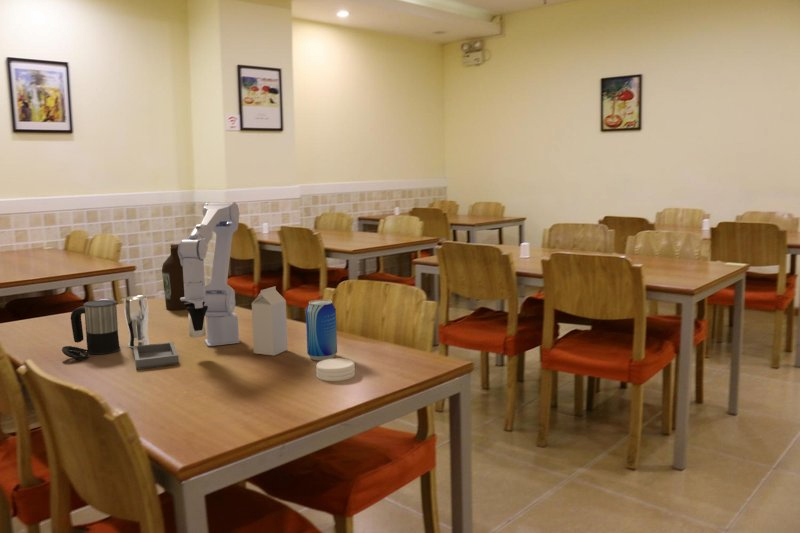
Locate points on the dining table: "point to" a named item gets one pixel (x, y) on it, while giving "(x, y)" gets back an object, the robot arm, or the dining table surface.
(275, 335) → the milk carton
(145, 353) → the tray
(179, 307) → the olive oil
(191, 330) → the salt shaker
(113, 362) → the dining table surface
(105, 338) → the milk frother
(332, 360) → the white round container
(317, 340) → the beer can
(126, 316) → the beer glass
